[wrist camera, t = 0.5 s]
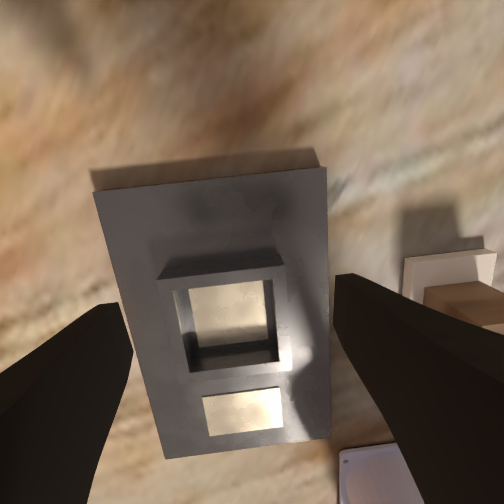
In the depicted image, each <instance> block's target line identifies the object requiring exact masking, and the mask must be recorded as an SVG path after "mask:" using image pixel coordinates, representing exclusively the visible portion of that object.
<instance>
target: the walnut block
mask: <svg viewBox="0 0 504 504" xmlns="http://www.w3.org/2000/svg"><path fill="white" fill-rule="evenodd" d="M423 305H424V306H427V307H429V308H432V309H434V310H436V311H439V312H441V313H444V314H446V315H449V316H451V317H454V318H456V319H459V320H462V321H465V322H467V323H470V324H473V325H476V326H479V327H482V328H485V329H488V330H491V331H494V332H497V333H500V334H503V335H504V293H503V292H501V291H499V290H497V289H495V288H493V287H491V286H489V285H487V284H485V283H483V282H481V281H472V282H464V283H455V284H447V285H439V286H430V287H424V297H423Z"/></svg>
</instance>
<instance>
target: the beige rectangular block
mask: <svg viewBox="0 0 504 504" xmlns="http://www.w3.org/2000/svg"><path fill="white" fill-rule="evenodd" d="M496 256H497V253H496V252H493V251H491V250H488V249H477V250H469V251H460V252H452V253H443V254H435V255H426V256H417V257H409V258H405V261H404V275H403V289H402V296H404V297H406V298H409V299H411V300H413V301H415V302H418V303H420V304H422V305H423V297H424V287H430V286H439V285H447V284H455V283H464V282H472V281H481V282H483V283H485V284H487V285H489V286H491V284H492V279H493V273H494V267H495V262H496Z"/></svg>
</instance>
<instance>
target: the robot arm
mask: <svg viewBox="0 0 504 504" xmlns="http://www.w3.org/2000/svg"><path fill="white" fill-rule="evenodd" d="M333 326H334V328H335V331H336V333H337V335H338V338H339V340H340V342H341V345H342V347H343V349H344V351H345V353H346V355H347V356H348V358H349V360H350V361H351V363H352V365H353V366H354V368H355V370H356V372H357V373H358V375H359V377H360V378H361V380H362V382H363V383H364V385H365V387H366V388H367V390H368V392H369V393H370V395H371V397H372V398H373V400H374V402H375V403H376V405H377V407H378V408H379V410H380V412H381V413H382V415H383V417H384V419H385V421H386V423H387V424H388V426H389V428H390V430H391V432H392V435H393V437H394V439H395V441H396V443H391V444H383V445H376V446H368V447H361V448H353V449H346V450H342V451H341V452H340V453H339V504H504V335H503V334H500V333H497V332H494V331H491V330H488V329H485V328H482V327H479V326H476V325H473V324H470V323H467V322H465V321H462V320H459V319H456V318H454V317H451V316H449V315H446V314H444V313H441V312H439V311H436V310H434V309H432V308H429V307H427V306H424V305H422V304H420V303H418V302H415V301H413V300H411V299H409V298H406V297H404V296H402V295H400V294H398V293H396V292H394V291H391V290H389V289H387V288H385V287H383V286H381V285H379V284H377V283H375V282H373V281H370V280H368V279H366V278H364V277H361V276H359V275H356V274H354V273H351V274H343V275H335V294H334V313H333ZM133 352H134V351H133V348H132V345H131V342H130V338H129V335H128V332H127V329H126V326H125V323H124V319H123V316H122V313H121V310H120V307H119V303H118V302H115V303H107V304H99V305H97V306H95V307H94V308H92V309H91V310H89V311H88V312H86V313H85V314H83V315H82V316H80V317H79V318H78V319H76V320H75V321H73V322H72V323H71V324H69V325H68V326H67V327H65V328H64V329H63V330H61V331H60V332H58V333H57V334H56V335H54V336H53V337H52V338H50V339H49V340H47V341H46V342H45V343H43V344H42V345H41V346H39V347H38V348H36V349H35V350H33V351H32V352H31V353H29V354H28V355H26V356H25V357H23V358H22V359H20V360H19V361H17V362H16V363H15V364H13V365H12V366H10V367H9V368H7V369H6V370H4V371H3V372H1V373H0V504H87V501H88V497H89V493H90V489H91V485H92V482H93V478H94V474H95V471H96V468H97V465H98V462H99V459H100V456H101V453H102V450H103V447H104V445H105V442H106V439H107V436H108V434H109V431H110V428H111V425H112V423H113V420H114V417H115V414H116V412H117V409H118V406H119V403H120V401H121V398H122V395H123V392H124V389H125V386H126V383H127V380H128V376H129V371H130V367H131V362H132V357H133Z"/></svg>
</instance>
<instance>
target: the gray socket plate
mask: <svg viewBox="0 0 504 504" xmlns="http://www.w3.org/2000/svg"><path fill="white" fill-rule="evenodd" d="M92 193H93V197H94V200H95V204H96V208H97V211H98V215H99V219H100V222H101V226H102V230H103V233H104V237H105V241H106V244H107V248H108V252H109V255H110V259H111V262H112V266H113V270H114V273H115V277H116V281H117V284H118V288H119V292H120V295H121V299H122V303H123V306H124V310H125V314H126V317H127V321H128V325H129V328H130V332H131V336H132V339H133V343H134V347H135V350H136V354H137V358H138V361H139V365H140V369H141V372H142V376H143V380H144V383H145V387H146V391H147V394H148V398H149V402H150V405H151V409H152V412H153V416H154V420H155V423H156V427H157V431H158V434H159V438H160V442H161V445H162V449H163V453H164V456H165V459H172V458H180V457H187V456H195V455H202V454H210V453H217V452H225V451H232V450H240V449H247V448H255V447H262V446H270V445H277V444H285V443H292V442H300V441H307V440H315V439H322V438H330V437H331V395H330V338H329V282H328V225H327V168H326V167H312V168H303V169H294V170H285V171H275V172H266V173H257V174H247V175H238V176H229V177H220V178H210V179H201V180H192V181H183V182H173V183H164V184H155V185H145V186H136V187H127V188H118V189H108V190H100V191H96V192H92Z"/></svg>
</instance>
